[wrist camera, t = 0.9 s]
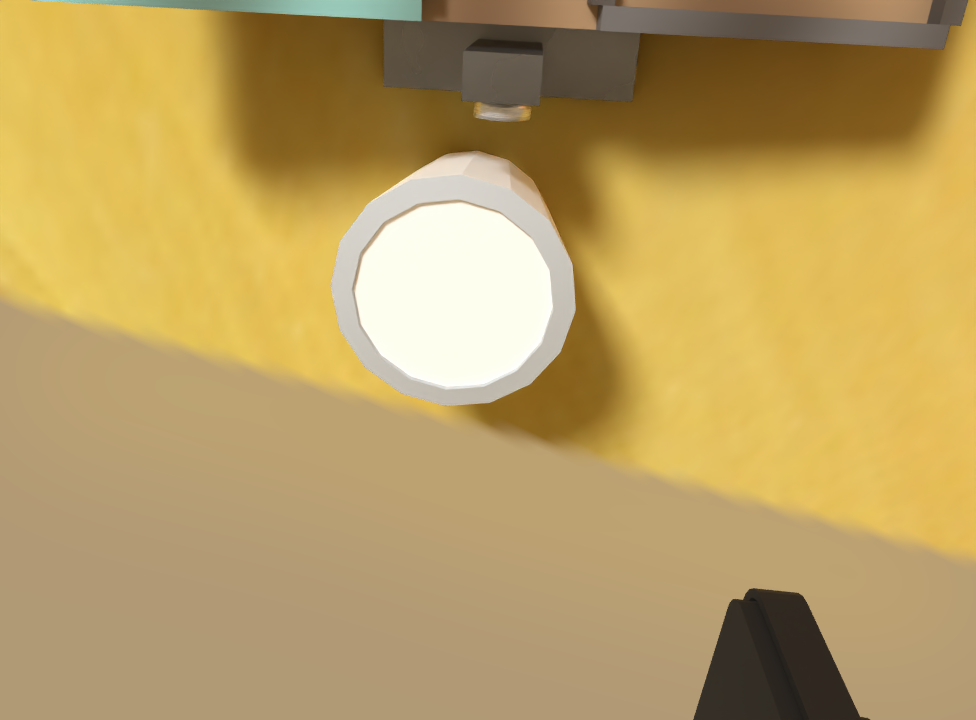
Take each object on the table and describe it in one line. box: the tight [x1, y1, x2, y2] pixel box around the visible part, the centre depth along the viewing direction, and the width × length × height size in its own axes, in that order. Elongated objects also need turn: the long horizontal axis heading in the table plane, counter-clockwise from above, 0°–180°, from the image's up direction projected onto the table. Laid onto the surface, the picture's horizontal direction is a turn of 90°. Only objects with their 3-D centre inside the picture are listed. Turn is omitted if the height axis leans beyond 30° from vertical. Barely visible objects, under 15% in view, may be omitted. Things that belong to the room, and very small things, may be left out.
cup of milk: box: [331, 151, 576, 406], centre depth 25 cm, size 7×7×7 cm
